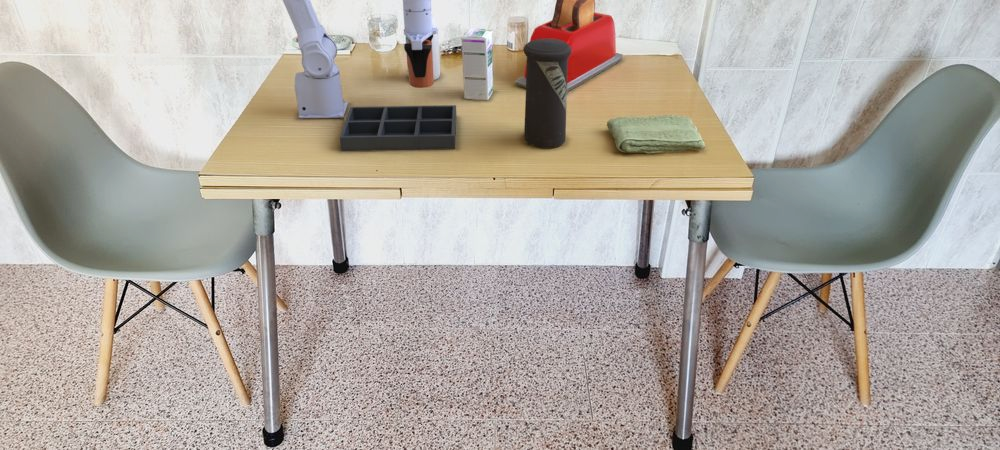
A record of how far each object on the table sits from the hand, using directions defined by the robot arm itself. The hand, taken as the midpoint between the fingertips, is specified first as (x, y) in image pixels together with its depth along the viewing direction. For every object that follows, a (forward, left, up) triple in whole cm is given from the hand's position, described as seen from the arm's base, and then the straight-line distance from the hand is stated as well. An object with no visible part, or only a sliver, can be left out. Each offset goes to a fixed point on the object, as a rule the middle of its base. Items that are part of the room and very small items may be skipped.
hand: (420, 72), depth 155 cm
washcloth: (+47, -18, -8) cm, 51 cm away
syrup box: (+12, +7, -8) cm, 16 cm away
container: (+25, -17, -8) cm, 32 cm away
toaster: (+35, +21, -8) cm, 42 cm away
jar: (0, 0, -3) cm, 3 cm away
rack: (-4, -13, -8) cm, 16 cm away
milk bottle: (-1, +19, -8) cm, 21 cm away
